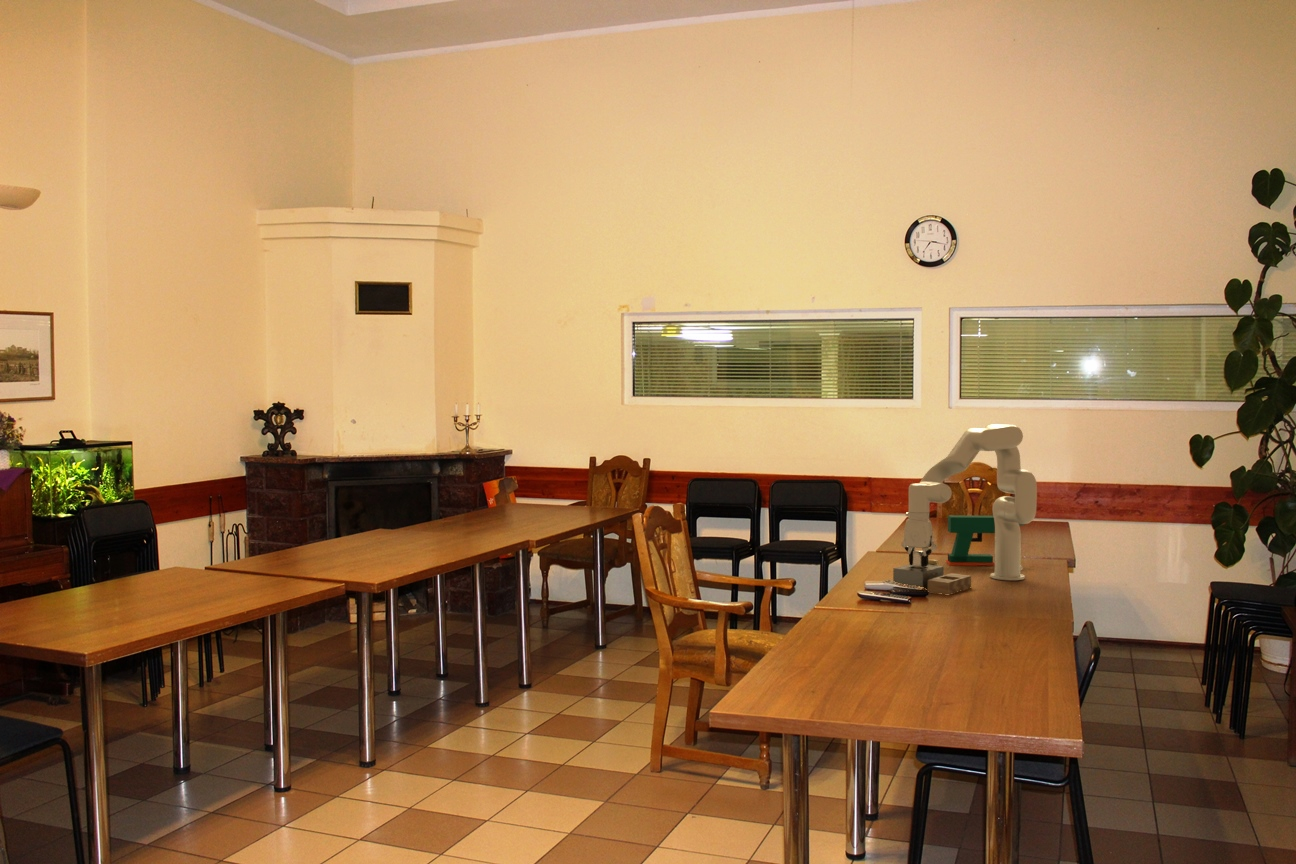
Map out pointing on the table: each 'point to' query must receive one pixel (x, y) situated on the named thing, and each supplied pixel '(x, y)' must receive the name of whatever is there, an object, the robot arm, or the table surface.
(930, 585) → the block
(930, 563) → the drift key
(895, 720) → the table surface
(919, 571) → the socket block
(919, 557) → the cream post
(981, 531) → the power tool
